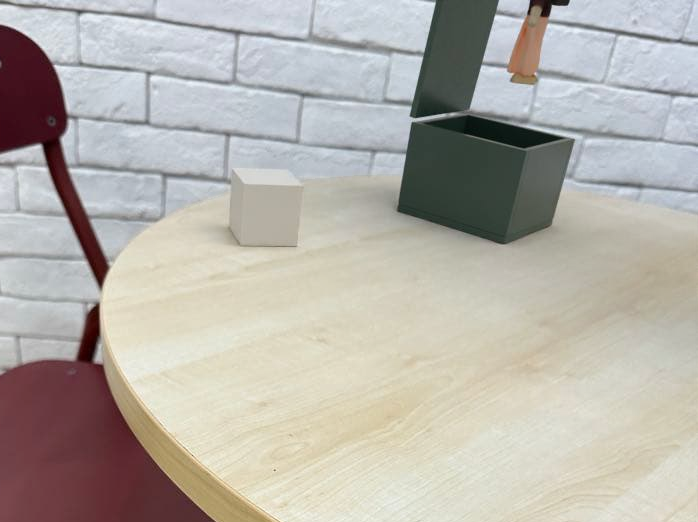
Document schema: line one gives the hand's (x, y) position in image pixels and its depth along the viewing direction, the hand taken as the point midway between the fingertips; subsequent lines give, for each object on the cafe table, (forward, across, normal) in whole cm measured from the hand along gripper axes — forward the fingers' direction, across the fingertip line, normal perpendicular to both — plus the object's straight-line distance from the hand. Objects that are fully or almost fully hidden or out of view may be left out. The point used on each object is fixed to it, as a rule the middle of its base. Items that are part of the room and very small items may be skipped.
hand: (541, 0), depth 88 cm
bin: (+23, -2, 0) cm, 23 cm away
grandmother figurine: (+8, 0, 0) cm, 8 cm away
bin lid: (+5, -9, +1) cm, 10 cm away
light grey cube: (+23, -12, -27) cm, 38 cm away
